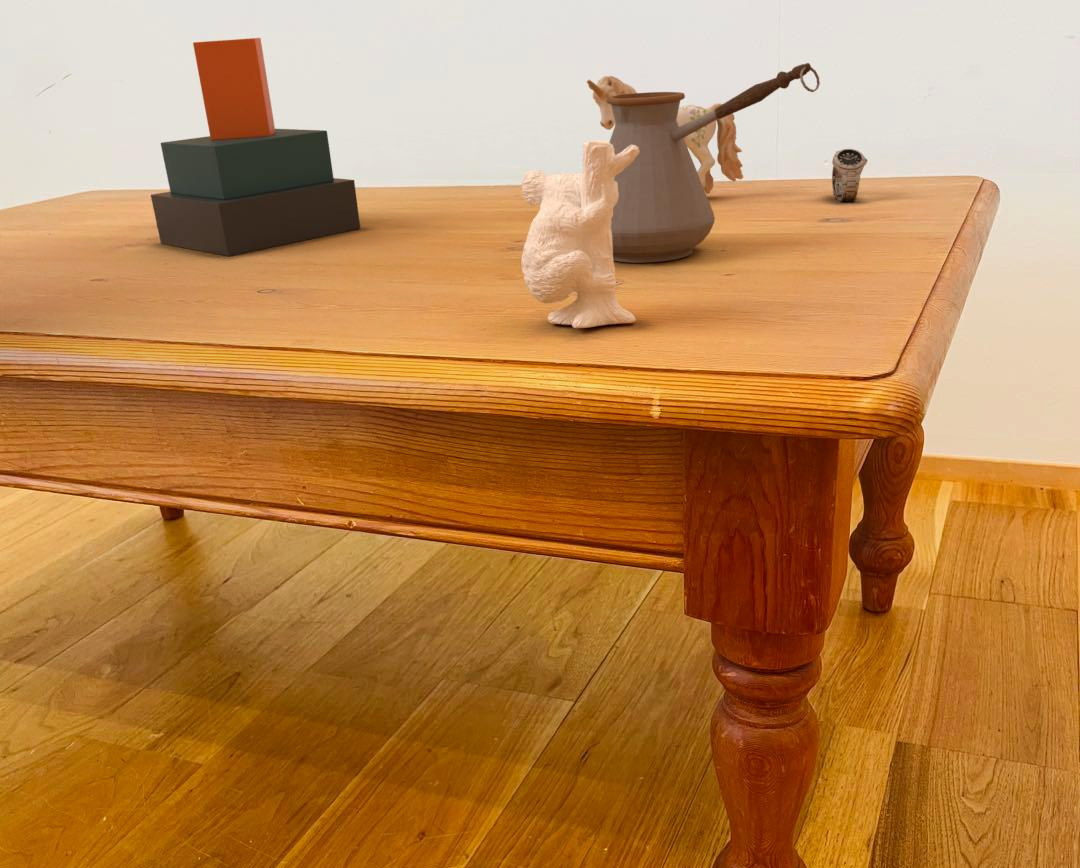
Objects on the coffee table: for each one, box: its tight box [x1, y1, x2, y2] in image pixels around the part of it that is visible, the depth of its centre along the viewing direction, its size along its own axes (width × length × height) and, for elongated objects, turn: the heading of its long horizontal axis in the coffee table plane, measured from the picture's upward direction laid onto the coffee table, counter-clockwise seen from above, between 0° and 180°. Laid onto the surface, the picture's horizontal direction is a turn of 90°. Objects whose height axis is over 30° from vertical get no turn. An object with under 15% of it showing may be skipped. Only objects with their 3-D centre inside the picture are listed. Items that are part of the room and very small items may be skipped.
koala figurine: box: [520, 139, 639, 329], centre depth 71 cm, size 8×7×12 cm
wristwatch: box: [831, 148, 868, 203], centre depth 112 cm, size 4×6×5 cm, turn 178°
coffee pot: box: [607, 62, 821, 263], centre depth 87 cm, size 21×12×15 cm, turn 47°
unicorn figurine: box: [586, 75, 744, 195], centre depth 114 cm, size 7×20×13 cm, turn 117°
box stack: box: [150, 128, 361, 257], centre depth 112 cm, size 16×14×10 cm
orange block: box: [192, 37, 276, 140], centre depth 108 cm, size 6×4×9 cm, turn 94°
